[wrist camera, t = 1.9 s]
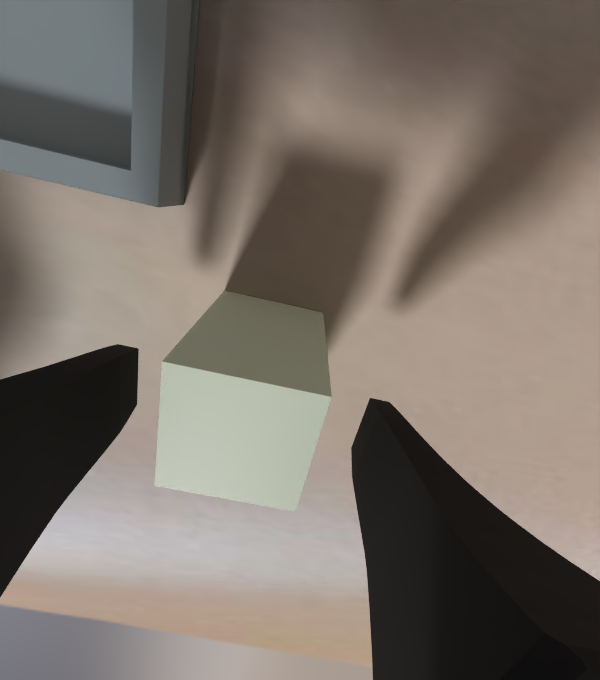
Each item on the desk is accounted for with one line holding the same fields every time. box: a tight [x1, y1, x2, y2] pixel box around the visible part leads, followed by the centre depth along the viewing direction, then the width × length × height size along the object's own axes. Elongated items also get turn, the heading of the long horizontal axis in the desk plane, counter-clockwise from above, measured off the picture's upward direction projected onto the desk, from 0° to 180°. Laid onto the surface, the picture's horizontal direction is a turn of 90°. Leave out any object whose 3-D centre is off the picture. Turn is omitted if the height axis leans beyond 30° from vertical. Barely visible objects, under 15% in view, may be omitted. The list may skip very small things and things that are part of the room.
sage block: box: [155, 291, 332, 512], centre depth 11 cm, size 4×4×6 cm
